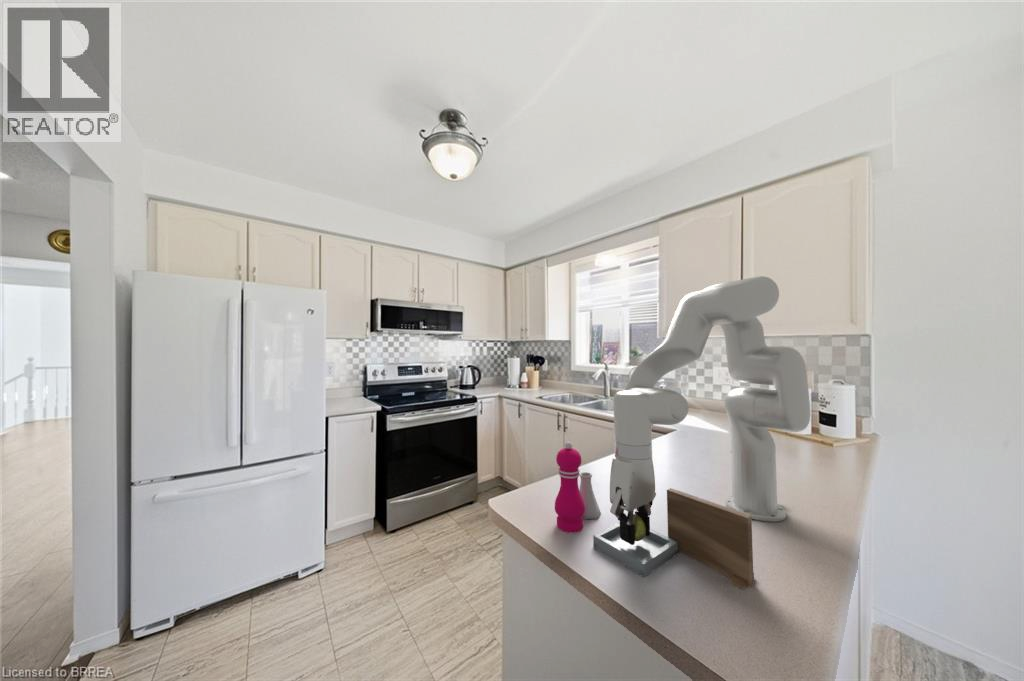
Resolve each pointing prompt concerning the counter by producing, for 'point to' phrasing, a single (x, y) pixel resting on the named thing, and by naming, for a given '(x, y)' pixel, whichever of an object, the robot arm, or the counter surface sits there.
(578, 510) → the pepper mill
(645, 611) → the counter surface
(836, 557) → the counter surface
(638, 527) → the lime
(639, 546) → the slate dish
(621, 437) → the robot arm
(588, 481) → the flask
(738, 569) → the walnut board
